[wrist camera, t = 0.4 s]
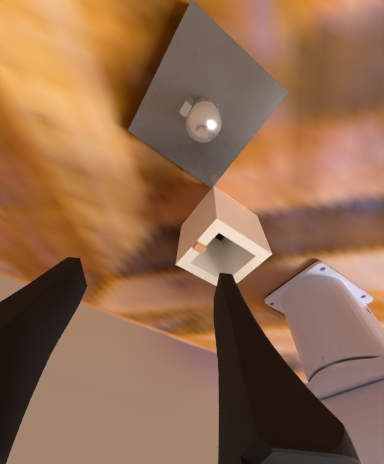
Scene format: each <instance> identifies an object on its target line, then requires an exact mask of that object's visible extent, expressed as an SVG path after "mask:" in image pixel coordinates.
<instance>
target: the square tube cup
mask: <svg viewBox="0 0 384 464" xmlns="http://www.w3.org/2000/svg"><path fill="white" fill-rule="evenodd" d="M218 233H220V234H222V235H223V236H225V237H224V239H223V240H222V241H220V240H219V239H217V238H215V236H216V235H217V234H218ZM271 255H272V252H271V250H270V247H269V245H268V242H267V240H266V237H265V235H264V232H263V230H262V227H261V224H260V222H259V219H258V217H257V215H256V214H254V213H253V212H251V211H250V210H248V209H247V208H245V207H244V206H243V205H241V204H240V203H238V202H237V201H235V200H234V199H233V198H231V197H230V196H228V195H227V194H225V193H224V192H222V191H221V190H220V189H218V188H217V187H215V186H213V187H212V188H211V189H210V190H209V192H208V193H207V194H206V195H205V197H204V198H203V199H202V200H201V202H200V203H199V204H198V205H197V207H196V208H195V209H194V210H193V212H192V213H191V214H190V215H189V217H188V218H187V219H186V220H185V222H184V223H183V224H182V225H181V232H180V239H179V245H178V252H177V258H176V265H177V266H179V267H181V268H183V269H185V270H187V271H189V272H191V273H192V274H194V275H196V276H198V277H200V278H202V279H204V280H206V281H207V282H209V283H211V284H213V285H215V286H217V282H218V278H219V273H228V274H232V275H233V277H234V279H235V282H236V284H237V283H238V282H239V281H241V280H242V279H243V278H244V277H245V276H247V275H248V274H249V273H250V272H251V271H253V270H254V269H255V268H256V267H257V266H259V265H260V264H261V263H262V262H263V261H265V260H266V259H267V258H268V257H269V256H271Z"/></svg>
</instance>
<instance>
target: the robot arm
mask: <svg viewBox="0 0 384 464" xmlns="http://www.w3.org/2000/svg"><path fill="white" fill-rule="evenodd" d="M322 267H323V268H322ZM86 287H87V284H86V280H85V276H84V272H83V268H82V264H81V260H80V258H72V257H68V258H66V259H65V260H63V261H62V262H60V263H59V264H57V265H56V266H54V267H53V268H51V269H50V270H49V271H47V272H46V273H44V274H43V275H41V276H40V277H38V278H37V279H35V280H34V281H32V282H31V283H29V284H28V285H26V286H25V287H23V288H22V289H20V290H19V291H17V292H15V293H14V294H12V295H11V296H9V297H8V298H6V299H4V300H3V301H1V302H0V464H6V462H7V459H8V456H9V453H10V451H11V448H12V445H13V442H14V440H15V437H16V435H17V432H18V429H19V426H20V424H21V421H22V419H23V416H24V414H25V411H26V409H27V406H28V404H29V402H30V399H31V397H32V395H33V392H34V390H35V388H36V385H37V383H38V381H39V378H40V376H41V374H42V372H43V370H44V367H45V365H46V363H47V361H48V359H49V357H50V355H51V353H52V351H53V349H54V347H55V345H56V343H57V342H58V340H59V339H60V337H61V335H62V333H63V332H64V330H65V328H66V326H67V325H68V323H69V321H70V320H71V318H72V316H73V314H74V313H75V311H76V309H77V307H78V306H79V304H80V302H81V299H82V297H83V295H84V292H85V290H86ZM264 301H265V304H267V305H269V306H271V307H272V308H274V309H276V310H278V311H280V312H281V313H283V314H285V317H286V319H287V322H288V325H289V328H290V331H291V334H292V337H293V340H294V343H295V345H296V348H297V351H298V354H299V357H300V360H301V363H302V366H303V368H304V371H305V374H306V377H307V380H308V383H307V384H306V385H305V384H304V383H303V382H302V381H301V380H300V378H299V377H298V376H297V375H296V374H295V373H294V371H293V370H292V369H291V368H290V367H289V365H288V364H287V363H286V362H285V361H284V359H283V358H282V357H281V356H280V354H279V353H278V352H277V350H276V349H275V348H274V346H273V345H272V344H271V342H270V341H269V339H268V338H267V337H266V335H265V334H264V332H263V331H262V329H261V328H260V326H259V324H258V323H257V321H256V320H255V318H254V316H253V315H252V313H251V311H250V309H249V308H248V306H247V304H246V302H245V300H244V298H243V296H242V294H241V292H240V290H239V288H238V286H237V284H236V282H235V279H234V277H233V275H232V274H228V273H219V278H218V282H217V287H216V291H215V296H214V327H215V337H216V347H217V357H218V369H219V370H218V371H219V457H218V458H219V459H218V464H384V328H383V327H382V325H381V324H380V323H379V321H378V320H377V318H376V317H375V316H374V314H373V313H372V312H371V310H370V309H369V307H368V306H367V305H366V304H368V303H370V302H372V301H373V297H372V296H371V295H370V294H368V293H367V292H365V291H364V290H362V289H361V288H359V287H358V286H357V285H355V284H354V283H352V282H351V281H349V280H348V279H346V278H345V277H344V276H342V275H341V274H339V273H338V272H336V271H335V270H333V269H332V268H331V267H329V266H328V265H326V264H325V263H323V262H322V261H317V262H315V263H313V264H312V265H311V266H309V267H308V268H306V269H305V270H304V271H302V272H301V273H300V274H298V275H297V276H295V277H294V278H293V279H291V280H290V281H288V282H287V283H286V284H284V285H283V286H281V287H280V288H279V289H277V290H276V291H274V292H273V293H272V294H270V295H269V296H268V297H266V298H265V299H264Z"/></svg>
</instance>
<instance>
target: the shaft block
mask: <svg viewBox="0 0 384 464" xmlns="http://www.w3.org/2000/svg"><path fill="white" fill-rule="evenodd" d="M287 94H288V92H287V91H286V90H285V89H284V88H283V87H282V86H281V85H280V84H279V83H278V82H277V81H276V80H274V79H273V78H272V77H271V76H270V75H269V74H268V73H267V72H266V71H265V70H264V69H263V68H262V67H261V66H260V65H259V64H258V63H257V62H256V61H255V60H254V59H253V58H252V57H251V56H250V55H249V54H248V53H247V52H245V51H244V50H243V49H242V48H241V47H240V46H239V45H238V44H237V43H236V42H235V41H234V40H233V39H232V38H231V37H230V36H229V35H228V34H227V33H226V32H225V31H224V30H223V29H222V28H221V27H220V26H219V25H218V24H216V23H215V22H214V21H213V20H212V19H211V18H210V17H209V16H208V15H207V14H206V13H205V12H204V11H203V10H202V9H201V8H200V7H199V6H198V5H197V4H196V3H195V2H194V1H193V0H191V1H190V3H189V6H188V8H187V10H186V12H185V14H184V16H183V18H182V20H181V22H180V24H179V26H178V28H177V30H176V32H175V34H174V36H173V39H172V41H171V43H170V45H169V47H168V49H167V51H166V53H165V55H164V57H163V59H162V61H161V63H160V65H159V67H158V69H157V72H156V74H155V76H154V78H153V80H152V82H151V84H150V86H149V88H148V90H147V92H146V94H145V96H144V98H143V100H142V102H141V105H140V107H139V109H138V111H137V113H136V115H135V117H134V119H133V121H132V123H131V125H130V127H129V129H128V131H129V132H130V133H132V134H133V135H134V136H136V137H137V138H139V139H140V140H142V141H143V142H145V143H146V144H148V145H149V146H150V147H152V148H153V149H155V150H156V151H158V152H159V153H161V154H162V155H164V156H165V157H166V158H168V159H169V160H171V161H172V162H174V163H175V164H177V165H178V166H180V167H181V168H183V169H184V170H185V171H187V172H188V173H190V174H191V175H193V176H194V177H196V178H197V179H199V180H200V181H201V182H203V183H204V184H206V185H207V186H209V187H210V188H212V187H213V186H214V185H215V184H216V182H217V181H218V180H219V179H220V177H221V176H222V175H223V174H224V172H225V171H226V170H227V169H228V167H229V166H230V165H231V164H232V162H233V161H234V160H235V159H236V158H237V156H238V155H239V154H240V153H241V151H242V150H243V149H244V148H245V146H246V145H247V144H248V143H249V141H250V140H251V139H252V138H253V136H254V135H255V134H256V133H257V131H258V130H259V129H260V128H261V126H262V125H263V124H264V123H265V121H266V120H267V119H268V118H269V116H270V115H271V114H272V113H273V111H274V110H275V109H276V108H277V106H278V105H279V104H280V103H281V101H282V100H283V99H284V98H285V97H286V95H287Z"/></svg>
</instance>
